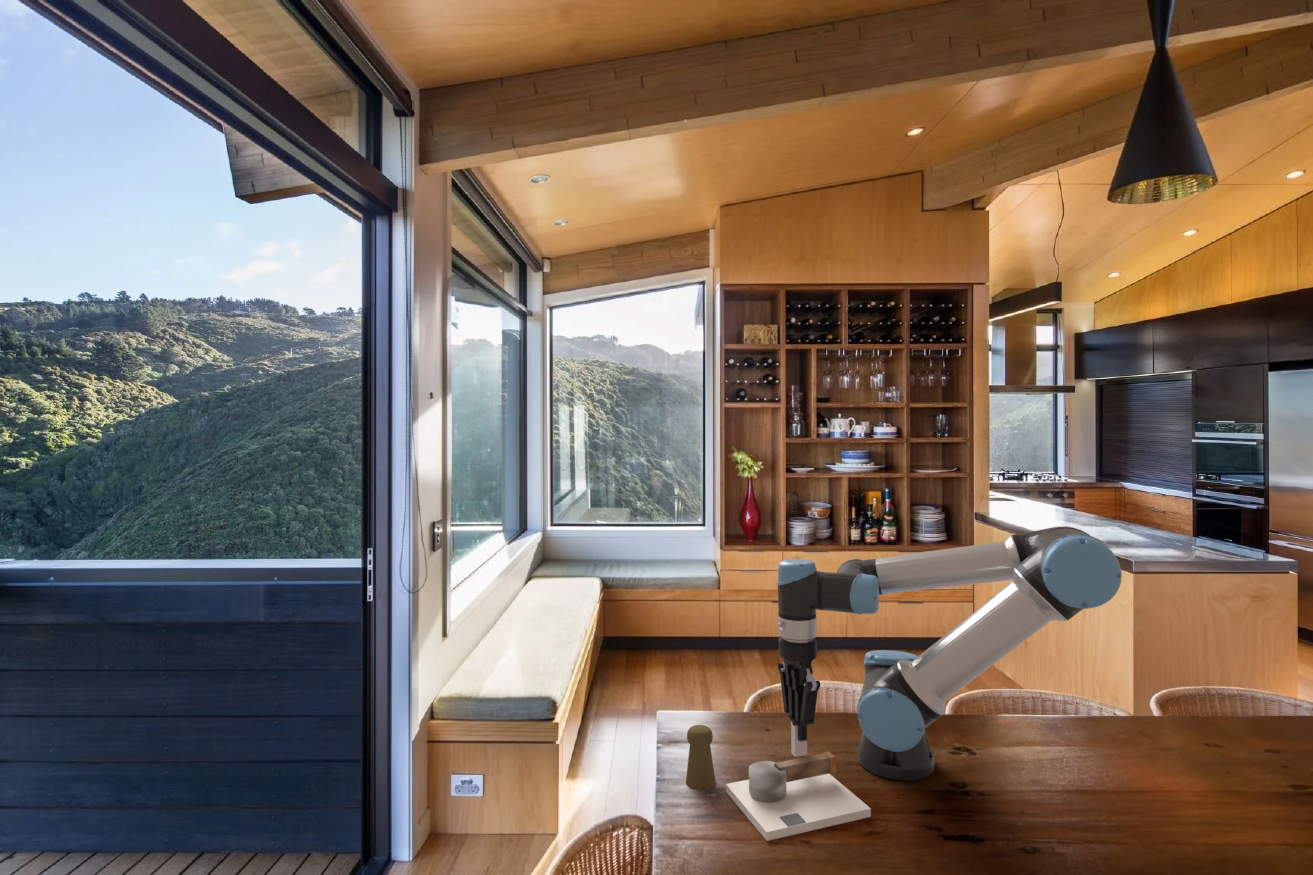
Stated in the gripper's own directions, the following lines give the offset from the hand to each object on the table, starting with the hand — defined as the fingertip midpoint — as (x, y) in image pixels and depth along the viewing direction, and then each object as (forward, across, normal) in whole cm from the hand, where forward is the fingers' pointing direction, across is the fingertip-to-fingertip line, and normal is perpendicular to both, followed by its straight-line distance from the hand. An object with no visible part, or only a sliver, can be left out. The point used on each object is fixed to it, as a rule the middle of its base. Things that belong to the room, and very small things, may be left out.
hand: (799, 753), depth 134 cm
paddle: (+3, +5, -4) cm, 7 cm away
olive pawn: (+5, -6, -19) cm, 21 cm away
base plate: (+5, +8, -5) cm, 11 cm away
